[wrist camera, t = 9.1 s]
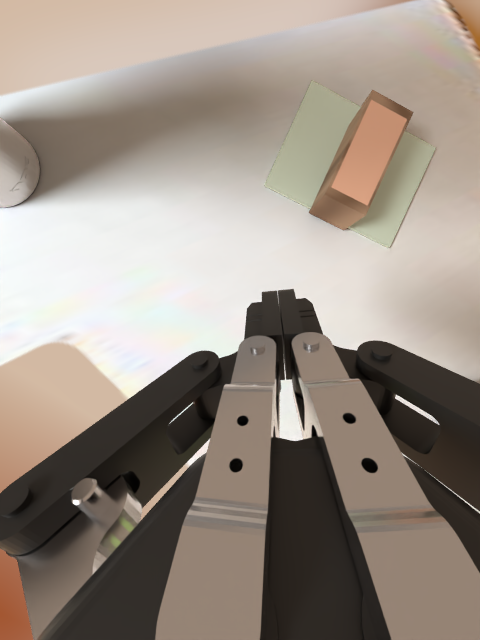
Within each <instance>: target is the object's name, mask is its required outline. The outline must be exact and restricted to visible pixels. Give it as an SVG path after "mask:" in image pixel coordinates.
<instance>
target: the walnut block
mask: <svg viewBox="0 0 480 640" xmlns="http://www.w3.org/2000/svg"><path fill="white" fill-rule="evenodd" d="M412 114H413V112H412V111H410V110H408V109H406V108H405V107H403V106H401V105H399V104H397V103H396V102H394V101H392V100H390V99H388V98H387V97H385V96H383V95H381V94H379V93H377V92H376V91H374V90H372V91H371V93H370V94H369V96H368V97H367V99H366V100H365V102H364V103H363V105H362V106H361V108H360V109H359V111H358V112H357V114H356V115H355V117H354V118H353V120H352V121H351V123H350V124H349V126H348V128H347V130H346V132H345V135H344V137H343V139H342V141H341V143H340V146H339V148H338V150H337V152H336V154H335V156H334V159H333V161H332V163H331V165H330V167H329V170H328V172H327V174H326V176H325V178H324V181H323V183H322V185H321V187H320V189H319V192H318V194H317V196H316V198H315V200H314V203H313V205H312V207H311V209H310V211H309V213H310V214H312V215H314V216H316V217H318V218H320V219H322V220H324V221H326V222H328V223H330V224H332V225H334V226H336V227H338V228H340V229H342V230H345V229H346V228H348V227H349V226H351V225H352V224H354V223H355V222H357V221H358V220H360V219H361V218H363V217H364V216H366V214H367V212H368V210H369V208H370V205H371V203H372V201H373V199H374V197H375V195H376V192H377V190H378V188H379V186H380V184H381V181H382V179H383V177H384V175H385V173H386V171H387V168H388V166H389V164H390V162H391V160H392V158H393V155H394V153H395V151H396V149H397V147H398V145H399V142H400V140H401V138H402V136H403V134H404V132H405V129H406V127H407V125H408V123H409V121H410V118H411V116H412Z"/></svg>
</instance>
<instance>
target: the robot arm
mask: <svg viewBox="0 0 480 640" xmlns="http://www.w3.org/2000/svg"><path fill="white" fill-rule="evenodd" d="M39 174H40V167H39V160H38V157H37V155H36V152H35V151H34V149H33V147H32V146H31V144H30V143H29V142H28V141H27V140H26V139H25V138H24V137H23V136H22V135H20V134H19V133H18V132H17V131H16V130H15V129H13V128H12V127H11V126H10V125H9V124H8V123H6V122H5V121H4V120H3V119H2V118H0V207H2V208H4V207H10V206H14V205H17V204H19V203H21V202H23V201H24V200H26V199H27V198H28V197H29V196H30V195H31V194H32V193H33V191H34V189H35V188H36V186H37V183H38V180H39ZM278 299H279V304H278ZM283 354H284V356H283ZM284 363H285V371H286V380H288V379H292V383H293V397H294V401H295V406H296V410H297V414H298V419H299V423H300V427H301V431H302V436H303V440H300V441H290V440H286V439H282V438H279V433H280V390H281V381H280V380H285V374H284ZM396 394H397V395H398V396H400V397H402V398H403V399H405V400H407V401H408V402H410V403H412V404H413V405H415V406H417V407H418V408H420V409H422V410H423V411H425V412H427V413H428V414H430V415H432V416H433V417H434V418H435V419H436V420H437V421H438V422H439V424H440V425H438V424H436V423H434V422H433V421H431V420H429V419H428V418H426V417H424V416H423V415H421V414H420V413H418V412H416V411H415V410H413V409H411V408H410V407H408V406H406V405H405V404H403V403H401V402H400V401H398V400H397V399H395V396H396ZM192 402H193V404H192V405H191V406H190V407H189V408H187V409H186V410H185V411H184V412H183V413H182V414H181V415H179V416H178V417H177V418H176V419H175V420H174V421H173V422H171V421H172V420H173V419H174V418H175V417H176V416H177V415H178V414H180V413H181V412H182V411H183V410H184V409H185V408H186V407H188V406H189V405H190V404H191V403H192ZM170 422H171V423H170ZM169 423H170V424H169ZM209 439H210V442H209V446H208V450H207V453H205V454H204V455H202V456H201V457H200V458H198V459H197V460H196V461H195V462H194V463H193V464H192V465H191V466H190V467H189V468H188V469H187V470H186V471H185V472H184V473H183V474H182V476H181V477H180V478H179V479H178V480H177V481H176V482H175V483H174V485H173V486H172V487H171V488H170V489H169V490H168V491H167V492H166V493H165V494H164V496H163V497H162V498H161V499H160V500H159V501H158V502H157V503H156V504H155V506H154V507H153V508H152V509H151V510H150V511H149V512H148V513H147V515H146V516H145V517H144V518H143V519H142V520H141V521H140V519H141V513H142V508H143V507H144V506H145V505H146V504H147V503H148V502H149V501H150V500H151V498H152V497H153V496H154V495H155V494H156V493H157V492H158V491H159V490H160V489H161V488H162V487H163V486H164V485H165V484H166V483H167V482H168V481H169V480H170V479H171V478H172V477H173V476H174V475H175V474H176V473H177V472H178V471H179V469H181V468H182V467H183V465H185V463H186V462H187V461H188V460H189V459H190V458H191V457H192V456H193V455H194V454H195V453H196V452H197V451H198V450H199V449H200V448H201V447H202V446H203V445H204V444H205V443H206V442H207V441H208V440H209ZM401 452H402V453H403V454H404V455H406V456H407V457H408V458H410V459H411V460H412V461H411V460H409V459H408V458H406V457H405V456H403V455H402V453H401ZM413 461H414V462H415V463H414V462H413ZM417 464H418V465H419V466H418V465H417ZM421 467H422V468H423V469H422V468H421ZM425 470H426V471H427V472H428V473H427V472H426V471H425ZM429 473H430V474H431V475H432V476H431V475H430V474H429ZM433 476H434V477H435V478H436V479H438V480H439V481H440V482H442V483H443V484H444V485H446V486H447V487H448V488H449V489H451V490H452V491H453V492H455V493H456V494H457V495H459V496H460V497H461V498H463V499H464V500H465V501H467V502H468V503H469V504H471V505H472V506H473V507H475V508H476V509H477V510H479V511H480V384H479V383H476V382H474V381H472V380H470V379H468V378H465V377H463V376H461V375H459V374H457V373H454V372H452V371H450V370H448V369H446V368H443V367H441V366H439V365H437V364H435V363H432V362H430V361H428V360H426V359H424V358H421V357H419V356H417V355H415V354H413V353H410V352H408V351H406V350H404V349H402V348H399V347H397V346H395V345H393V344H390V343H387V342H383V341H368V342H365V343H363V344H361V345H360V346H359V347H358V350H357V351H356V350H349V349H343V348H339V347H336V346H334V345H332V343H331V341H330V339H329V338H328V337H326V336H325V335H323V333H322V330H321V327H320V324H319V321H318V318H317V316H316V313H315V311H314V307H313V304H312V303H311V302H310V301H309V300H307V299H306V298H303V299H296V297H295V293H294V289H289V290H278V296H277V291H268V292H262V302H257V303H251V305H250V306H249V307H248V308H247V316H246V326H245V338H244V341H242V342H241V344H240V346H239V349H238V351H237V352H236V353H234V354H232V355H229V356H226V357H222V358H219V357H218V356H217V355H216V354H215V353H214V352H211V351H199V352H195V353H193V354H191V355H189V356H188V357H186V358H185V359H184V360H182V361H181V362H179V363H178V364H177V365H175V366H174V367H172V368H171V369H170V370H168V371H167V372H166V373H164V374H163V375H161V376H160V377H159V378H157V379H156V380H154V381H153V382H152V383H150V384H149V385H148V386H146V387H145V388H143V389H142V390H141V391H139V392H138V393H136V394H135V395H134V396H132V397H131V398H129V399H128V400H127V401H125V402H124V403H123V404H121V405H120V406H118V407H117V408H116V409H114V410H113V411H111V412H110V413H109V414H107V415H106V416H105V417H103V418H102V419H100V420H99V421H98V422H96V423H95V424H93V425H92V426H91V427H89V428H88V429H87V430H85V431H84V432H82V433H81V434H80V435H78V436H77V437H75V438H74V439H73V440H71V441H70V442H69V443H67V444H66V445H64V446H63V447H62V448H60V449H59V450H57V451H56V452H55V453H53V454H52V455H51V456H49V457H48V458H46V459H45V460H44V461H42V462H41V463H39V464H38V465H37V466H35V467H34V468H32V469H31V470H30V471H28V472H27V473H25V474H24V475H23V476H21V477H20V478H19V479H17V480H16V481H14V482H13V483H12V484H10V485H9V486H8V487H7V488H6V489H4V490H3V491H2V492H1V493H0V549H2V550H4V551H6V553H7V554H8V555H9V556H11V557H13V558H15V559H16V560H17V562H18V566H19V571H20V576H21V581H22V586H23V590H24V595H25V600H26V605H27V609H28V615H29V620H30V625H31V630H32V635H33V639H34V640H480V514H479V513H478V512H477V511H476V510H474V509H473V508H472V507H470V506H469V505H468V504H467V503H465V502H464V501H463V500H462V499H460V498H459V497H458V496H457V495H455V494H454V493H453V492H452V491H450V490H449V489H448V488H446V487H445V486H444V485H443V484H441V483H440V482H439V481H438V480H436V479H435V478H434V477H433Z"/></svg>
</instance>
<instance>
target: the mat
mask: <svg viewBox="0 0 480 640" xmlns="http://www.w3.org/2000/svg"><path fill="white" fill-rule="evenodd" d="M360 108H361V107H360V106H359V105H357V104H355V103H353V102H351V101H349V100H348V99H346V98H344V97H342V96H340V95H338V94H337V93H335V92H333V91H331V90H329V89H327V88H326V87H324V86H322V85H320V84H318V83H316V82H315V81H313V80H312V81H311V83H310V85H309V87H308V90H307V92H306V94H305V96H304V99H303V101H302V103H301V105H300V107H299V110H298V112H297V114H296V116H295V118H294V121H293V123H292V125H291V127H290V130H289V132H288V134H287V136H286V138H285V141H284V143H283V145H282V147H281V149H280V152H279V154H278V156H277V158H276V160H275V163H274V165H273V167H272V169H271V172H270V174H269V176H268V178H267V180H266V183H265V185H264V186H265V187H267V188H269V189H271V190H273V191H275V192H277V193H279V194H281V195H283V196H285V197H287V198H289V199H291V200H293V201H295V202H297V203H299V204H301V205H303V206H305V207H307V208H309V209H311V207H312V205H313V203H314V200H315V198H316V196H317V194H318V192H319V189H320V187H321V185H322V183H323V181H324V178H325V176H326V174H327V172H328V170H329V167H330V165H331V163H332V161H333V159H334V156H335V154H336V152H337V150H338V148H339V146H340V143H341V141H342V139H343V137H344V135H345V132H346V130H347V128H348V126H349V124H350V123H351V121H352V120H353V118H354V117H355V115H356V114H357V112H358V111H359V109H360ZM435 149H436V147H434V146H432V145H430V144H428V143H427V142H425V141H423V140H421V139H419V138H417V137H416V136H414V135H412V134H410V133H408V132H406V131H405V132H404V134H403V136H402V138H401V140H400V142H399V145H398V147H397V149H396V151H395V153H394V155H393V158H392V160H391V162H390V164H389V166H388V168H387V171H386V173H385V175H384V177H383V179H382V181H381V184H380V186H379V188H378V190H377V192H376V195H375V197H374V199H373V201H372V203H371V205H370V208H369V210H368V212H367V214H366V216H364V217H363V218H361V219H360V220H358V221H357V222H355V223H354V224H352V225H351V226H349V227H348V228H349V229H351V230H353V231H355V232H357V233H359V234H361V235H363V236H365V237H367V238H369V239H371V240H373V241H375V242H377V243H379V244H381V245H383V246H385V247H387V248H389V247H390V246H391V244H392V242H393V240H394V237H395V235H396V233H397V231H398V229H399V227H400V224H401V222H402V220H403V218H404V216H405V214H406V211H407V209H408V207H409V205H410V203H411V201H412V199H413V196H414V194H415V192H416V190H417V188H418V186H419V183H420V181H421V179H422V177H423V175H424V173H425V170H426V168H427V166H428V164H429V162H430V160H431V157H432V155H433V153H434V151H435Z"/></svg>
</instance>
